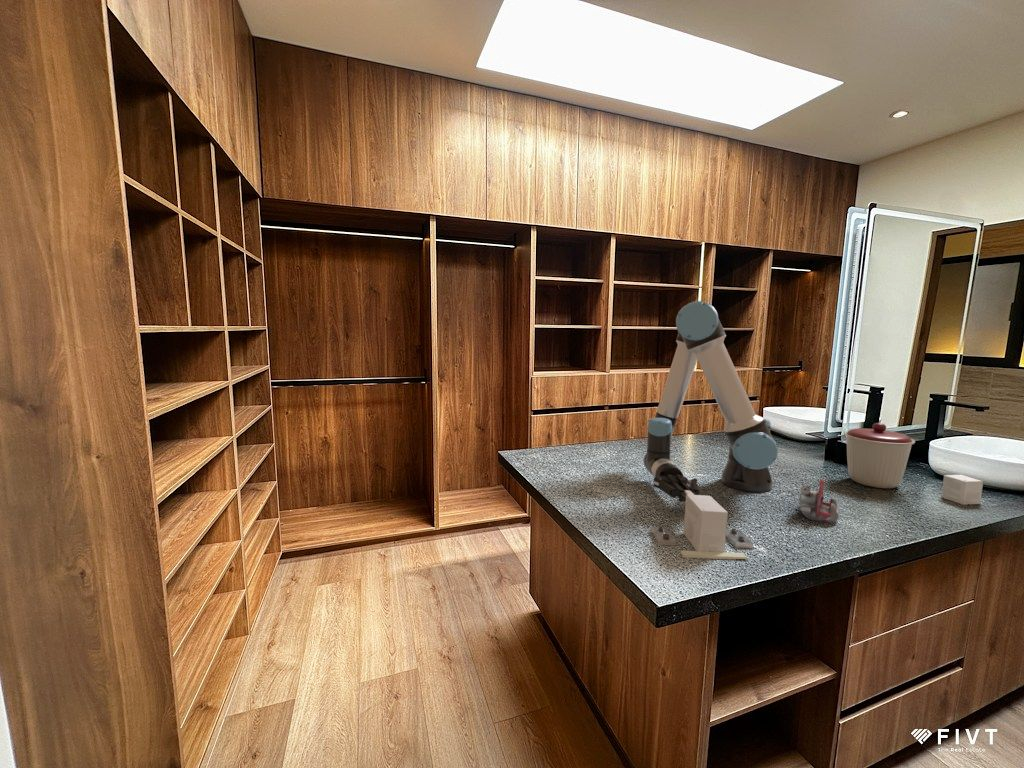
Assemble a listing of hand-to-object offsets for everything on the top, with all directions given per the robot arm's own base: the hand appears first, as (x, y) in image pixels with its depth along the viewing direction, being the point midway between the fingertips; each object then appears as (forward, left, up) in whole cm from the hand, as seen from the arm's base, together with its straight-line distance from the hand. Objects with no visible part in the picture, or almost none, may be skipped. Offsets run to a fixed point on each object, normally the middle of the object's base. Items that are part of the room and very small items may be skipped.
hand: (696, 504), depth 109 cm
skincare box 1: (0, +7, -7) cm, 10 cm away
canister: (-74, -40, -7) cm, 84 cm away
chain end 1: (+9, +5, -7) cm, 13 cm away
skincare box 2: (-89, -26, -7) cm, 93 cm away
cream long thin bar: (0, +13, -7) cm, 15 cm away
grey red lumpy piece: (-37, -11, -7) cm, 40 cm away
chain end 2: (-9, +5, -7) cm, 12 cm away
